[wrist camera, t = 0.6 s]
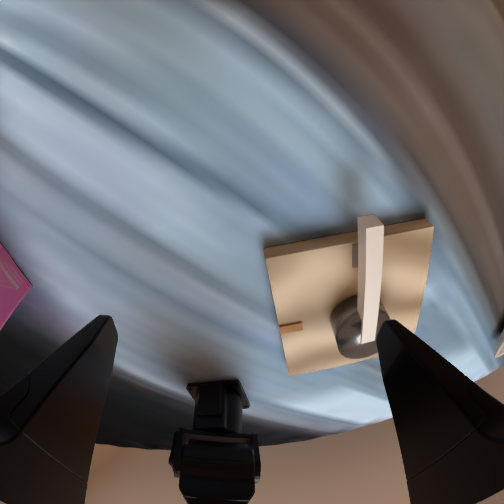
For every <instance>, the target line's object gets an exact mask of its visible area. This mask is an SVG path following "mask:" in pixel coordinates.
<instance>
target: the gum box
mask: <svg viewBox="0 0 504 504" xmlns="http://www.w3.org/2000/svg"><path fill="white" fill-rule="evenodd" d="M31 288H32V285H31V283H30V282H29V281H28V280H27V278H26V277H25V276H24V275H23V273H22V272H21V271H20V269H19V268H18V267H17V265H16V264H15V263H14V261H13V260H12V258H11V257H10V255H9V254H8V252H7V251H6V250H5V248H4V247H3V245H2V244H1V243H0V330H1V328H2V327H3V325H4V324H5V322H6V321H7V320H8V318H9V317H10V315H11V314H12V312H13V311H14V310H15V308H16V307H17V306H18V304H19V303H20V301H21V300H22V299H23V298H24V296H25V295H26V294H27V293H28V291H29V290H30V289H31Z"/></svg>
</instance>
